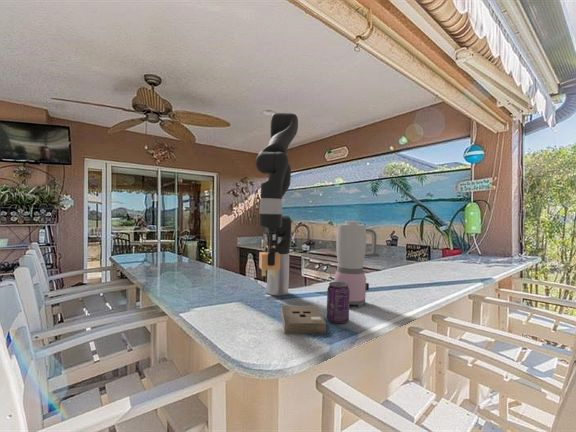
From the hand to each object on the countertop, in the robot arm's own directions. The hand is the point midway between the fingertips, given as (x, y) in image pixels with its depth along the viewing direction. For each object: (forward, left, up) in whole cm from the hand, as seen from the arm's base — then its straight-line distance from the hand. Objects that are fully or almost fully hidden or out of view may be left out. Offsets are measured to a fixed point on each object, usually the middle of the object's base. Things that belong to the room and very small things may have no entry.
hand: (269, 263), depth 99 cm
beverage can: (+4, +22, -18) cm, 29 cm away
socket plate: (+6, +10, -18) cm, 21 cm away
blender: (-15, +33, -18) cm, 41 cm away
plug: (0, 0, -4) cm, 4 cm away
